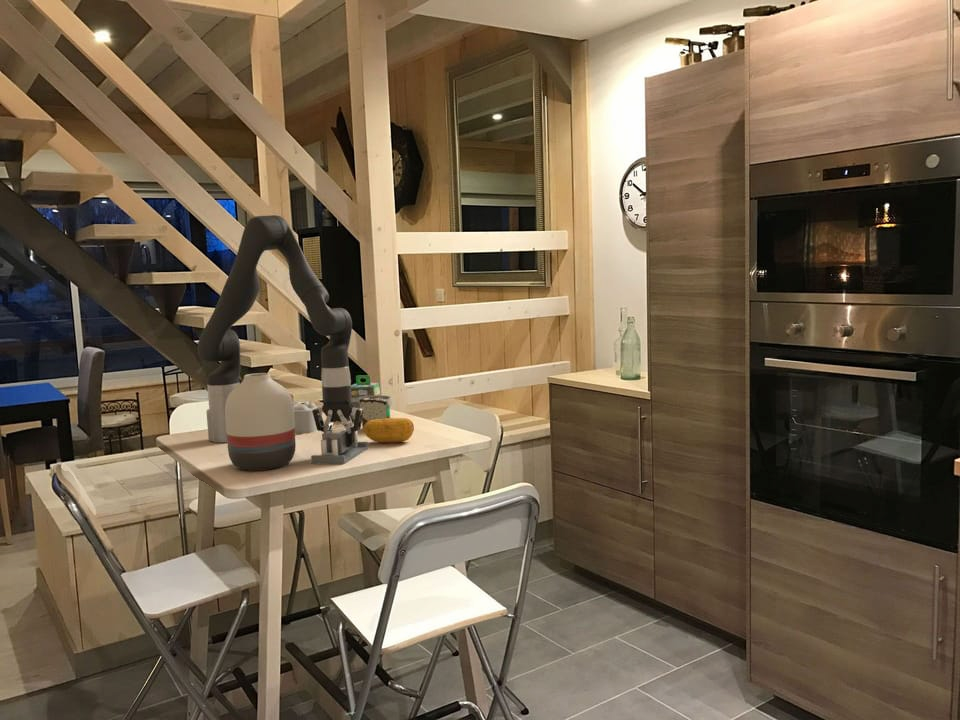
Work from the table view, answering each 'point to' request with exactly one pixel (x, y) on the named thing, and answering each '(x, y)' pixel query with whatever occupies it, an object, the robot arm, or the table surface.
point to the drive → (339, 435)
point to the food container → (375, 407)
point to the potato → (389, 430)
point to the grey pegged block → (339, 457)
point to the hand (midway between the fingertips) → (339, 446)
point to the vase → (260, 424)
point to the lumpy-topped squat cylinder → (304, 417)
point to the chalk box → (362, 391)
